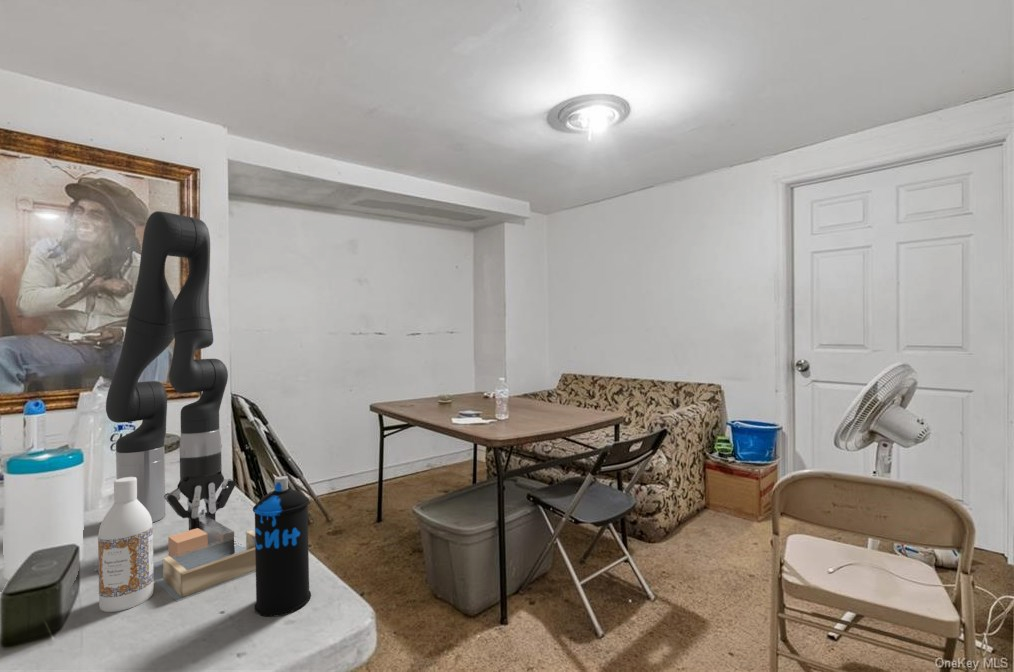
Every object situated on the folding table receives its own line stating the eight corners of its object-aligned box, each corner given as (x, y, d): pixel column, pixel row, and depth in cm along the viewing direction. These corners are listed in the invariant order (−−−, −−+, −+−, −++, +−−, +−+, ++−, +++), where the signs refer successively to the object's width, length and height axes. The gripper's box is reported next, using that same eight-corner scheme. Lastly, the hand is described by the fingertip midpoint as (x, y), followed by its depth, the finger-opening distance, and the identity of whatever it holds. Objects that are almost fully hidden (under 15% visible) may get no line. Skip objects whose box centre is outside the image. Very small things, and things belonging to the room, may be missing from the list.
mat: (140, 567, 89) (140, 566, 89) (237, 537, 102) (237, 536, 102) (177, 602, 76) (177, 601, 76) (281, 562, 90) (281, 561, 90)
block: (168, 562, 90) (168, 536, 90) (198, 553, 94) (197, 528, 94) (177, 570, 87) (177, 543, 87) (208, 559, 91) (207, 533, 91)
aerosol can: (271, 588, 80) (269, 471, 80) (319, 588, 80) (317, 470, 80) (243, 617, 72) (240, 485, 72) (296, 617, 71) (293, 485, 72)
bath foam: (88, 617, 73) (86, 487, 73) (115, 593, 80) (113, 475, 80) (140, 610, 74) (138, 483, 75) (161, 587, 81) (159, 471, 81)
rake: (148, 551, 95) (148, 529, 96) (204, 534, 103) (203, 514, 103) (175, 574, 86) (175, 549, 86) (234, 553, 93) (234, 531, 93)
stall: (163, 580, 84) (162, 558, 84) (251, 550, 95) (251, 530, 95) (183, 599, 77) (182, 574, 77) (275, 563, 89) (274, 542, 89)
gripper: (228, 443, 109) (229, 518, 109) (156, 456, 98) (158, 539, 98) (242, 447, 104) (243, 526, 104) (168, 461, 94) (170, 548, 93)
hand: (202, 532), depth 101 cm, fingers closed on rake, 2 cm apart
